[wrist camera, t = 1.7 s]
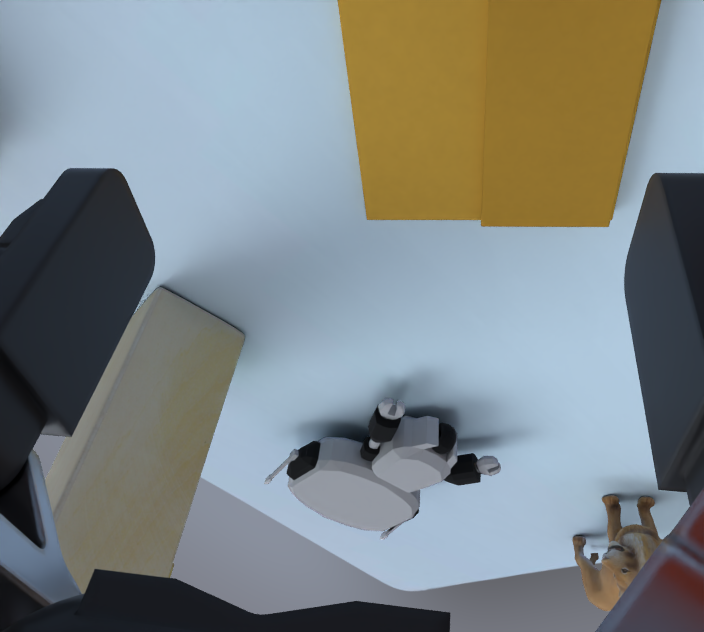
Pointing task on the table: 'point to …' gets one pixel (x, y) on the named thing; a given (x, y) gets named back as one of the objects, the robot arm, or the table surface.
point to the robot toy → (381, 470)
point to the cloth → (495, 106)
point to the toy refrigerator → (143, 441)
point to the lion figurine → (618, 554)
